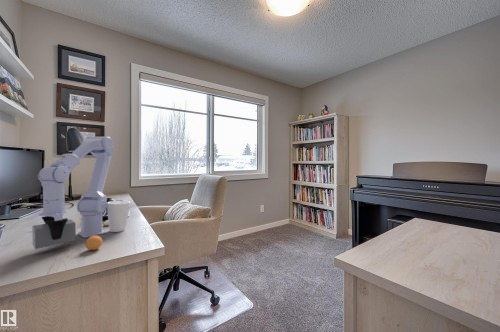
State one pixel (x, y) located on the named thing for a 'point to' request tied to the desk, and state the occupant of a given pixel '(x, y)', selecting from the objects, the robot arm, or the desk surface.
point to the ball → (93, 242)
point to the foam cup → (118, 215)
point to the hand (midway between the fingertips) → (54, 236)
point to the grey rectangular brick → (45, 239)
